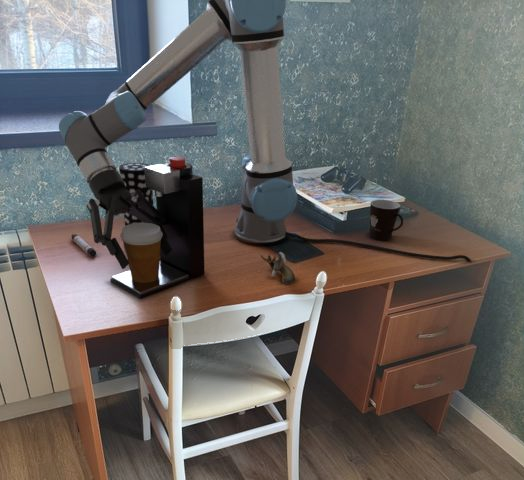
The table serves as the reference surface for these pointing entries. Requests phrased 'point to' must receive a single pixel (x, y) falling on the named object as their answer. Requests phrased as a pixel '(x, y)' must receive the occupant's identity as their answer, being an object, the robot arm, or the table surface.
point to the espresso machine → (169, 277)
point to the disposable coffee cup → (142, 250)
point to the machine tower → (184, 224)
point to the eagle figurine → (280, 268)
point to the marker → (83, 245)
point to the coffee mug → (383, 219)
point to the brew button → (177, 162)
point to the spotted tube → (135, 185)
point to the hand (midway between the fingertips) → (147, 259)
